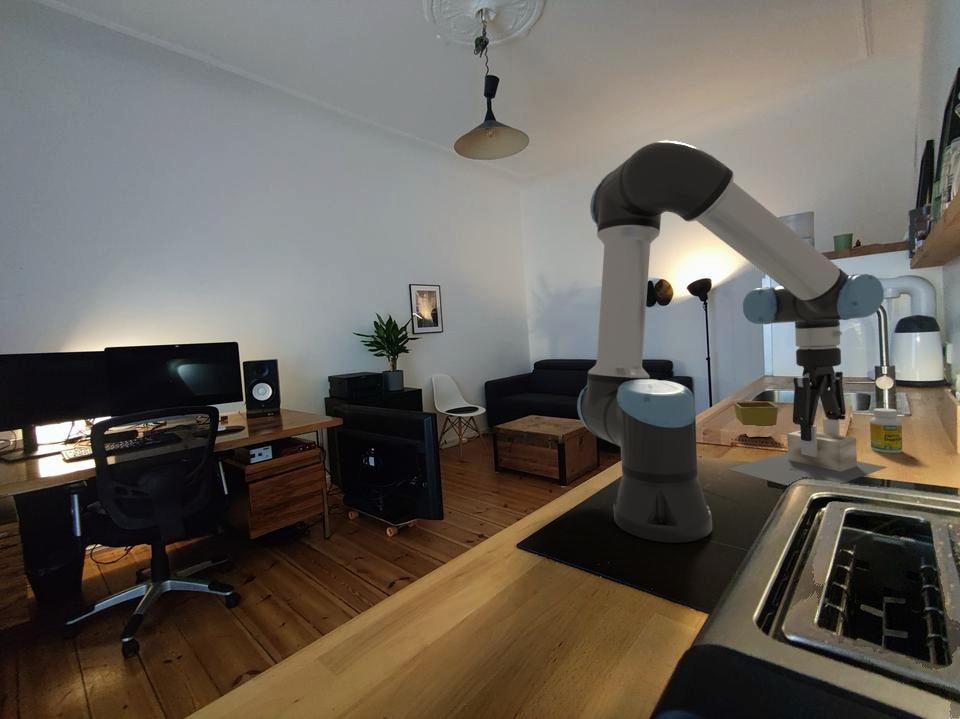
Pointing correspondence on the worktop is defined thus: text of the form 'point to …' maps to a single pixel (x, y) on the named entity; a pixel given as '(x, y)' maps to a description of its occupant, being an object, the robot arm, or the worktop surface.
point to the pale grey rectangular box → (825, 451)
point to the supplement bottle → (886, 431)
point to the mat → (800, 470)
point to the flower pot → (756, 413)
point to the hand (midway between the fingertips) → (820, 451)
